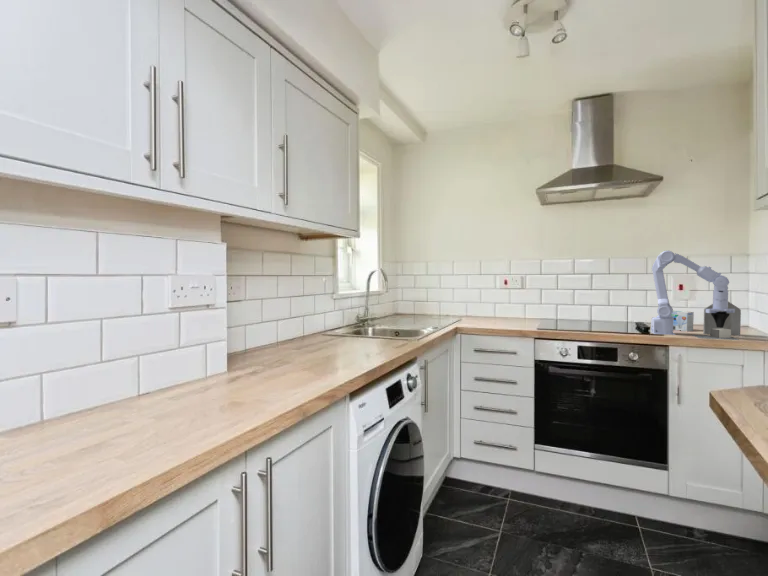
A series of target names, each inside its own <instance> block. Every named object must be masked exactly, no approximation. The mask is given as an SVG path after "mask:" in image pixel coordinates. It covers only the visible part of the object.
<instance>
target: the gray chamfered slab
mask: <svg viewBox="0 0 768 576" xmlns="http://www.w3.org/2000/svg"><path fill="white" fill-rule="evenodd" d="M712 308H713V303H711V304H710V305H708V306H707V307H705V308H704V309H703V331H702V332H703V335H711V329H730V330H731V336H732V335H733V336H739V337H741V320H742V319H741V317H742V316H741V315H742V313H741V311H742V310H741V308H740V307H739V306H738V307H737V306H736V305H735V304H733V303H732V302H730V301H728V309H735V313H729V316H728V317H727V319H726V321H725V323H724V326H723V328H719V327H717V326H716V323H715V320H714V318H713V316H712V315H711V313H706V309H712ZM719 312H725V311H719Z"/></svg>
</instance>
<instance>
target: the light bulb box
mask: <svg viewBox="0 0 768 576" xmlns="http://www.w3.org/2000/svg"><path fill="white" fill-rule="evenodd" d="M671 316H672V317H673V331H678V330H681V331H680V332H686V331H687V332H693V331H694V319H695V318H694V317H695V314H694V311H683V310H673V312H672V314H671Z"/></svg>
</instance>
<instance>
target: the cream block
mask: <svg viewBox="0 0 768 576" xmlns="http://www.w3.org/2000/svg"><path fill="white" fill-rule="evenodd" d="M710 336H711V337H715V338H731V337H732V335H731V330H730V329H711V334H710Z"/></svg>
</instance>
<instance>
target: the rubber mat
mask: <svg viewBox="0 0 768 576" xmlns="http://www.w3.org/2000/svg"><path fill="white" fill-rule="evenodd" d="M691 336H693V337H695V338H698V339H704V340H705V339H708V340H711V339H712V340H726V341H727V340H728V341H729V340H730V341H740V339H738V338H735V337H732V336H731V338H715V337H711V335H708V334H703V335H702V334H691Z"/></svg>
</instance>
